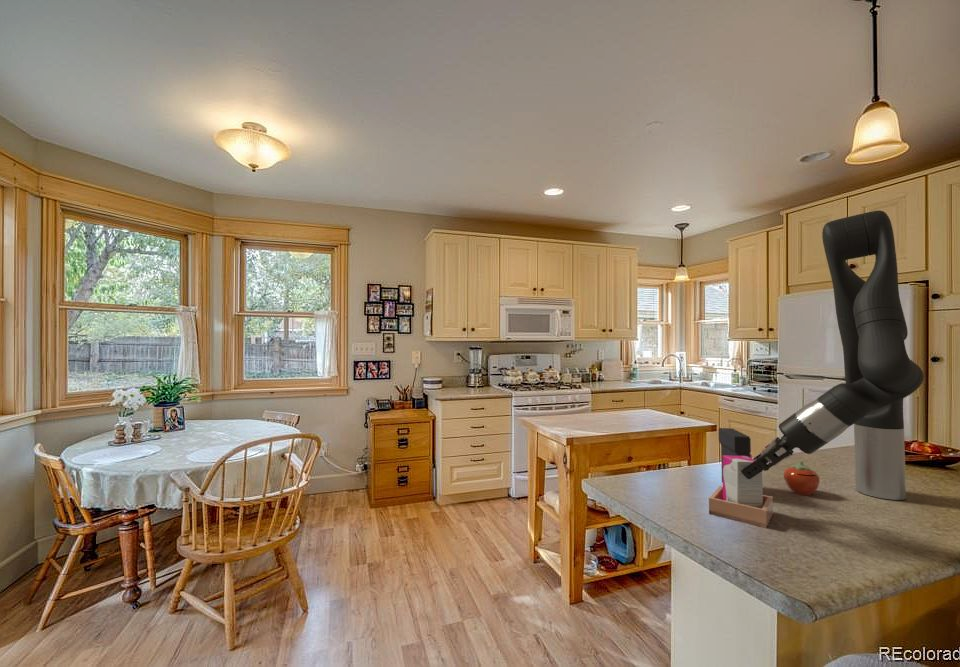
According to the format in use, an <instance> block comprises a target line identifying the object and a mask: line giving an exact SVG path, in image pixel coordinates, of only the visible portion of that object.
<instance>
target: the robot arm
mask: <svg viewBox="0 0 960 667" xmlns="http://www.w3.org/2000/svg"><path fill="white" fill-rule="evenodd" d="M821 234H822V236H821V237H822V244H823V248H824V253H825V257H826V261H827V265H828V269H829V274H830V277H831V283H832V288H833V296H834V305H835V313H836V320H837V325H838V326H837V327H838V330H839V335H840V341H841V345H842V350H843V362H844V363H843V367H844V378H845V381H844V382H845V383H844V382H842V383H839V384H836V385H834V386H833V387H831V388H829V390H827V391H825V392H824V393H823V394H822V395H820V396H819V397H817V398H816V399H814V400H813V401H811V402H809V403H807V404H805V405H804V406H802V407H801V408H799V409H798V410H797V411H796V412H794V413H793V414H791V415H790V416H788V417H787V418H786V419H784V420H783V421H782V422H780V423H779V424H778V428H779V431H780V432H781V433H782V436H781V437H779V436H777V437H775V438H774V439H773V440H771V441H770V442H769V443H768V444H767V445H766V446H765V447H764V449H762V450H761V452H760V453H758V455H756V456H755V457H754V458H753V457H752V458H753V459H755V461H754V462H752V463H751V464H749V465H748V466H747V467H745V468H744V469H742V471H741V473H742V474H743V475H744V476H745V477H746V478H747V479H751V478H753V477H754V476H756V475H757V474H759V473H760V472H761V471H762V472H764V471H765V472H766V471H769V470H770V469H771V468H772V467H775V466H777V465H779V464H780V463H781V462H782V461H784V460H786V459H789V458H790V457H791V456H792V455H794V454H793V453H794V449H796V448H797V449H799V450H800V451H801V452H803V453H805V454H807V455H812V454H813V453H815V452H816V451H818V450H820V449H821V448H823V447H824V446H826V445H827V444H828V443H830V442H832V441H833V440H834V439H836V438H838V437H839V436H840V435H842V434H843V433H844V432H845V431H846V430H847V429H849V428H850V427H851V426H853V436H854V439H853V440H854V441H853V442H854V473H855V474H854V475H855V476H854V478H855V479H854V480H855V491H856V492H859V493H861V494H864V495H866V496H871V497H875V498H879V499H884V500H885V499H886V500H892V501H902V500H903V501H904V500H906V499H907V490H906V489H907V488H906V487H907V486H906V482H907V481H906V452H905V451H906V449H905V445H906V444H905V423H904V422H905V421H904V399H905V398H907V397H909V396H911V395H912V394H913V393H914V392H916V391H917V390H918V389H919V388H920V387H921V386H922V384H923V381H924V377H925V375H924V374H925V373H924V372H923V369H922V368H921V367H920V366H919V365H918V364H917V363H916V362H914V361H913V360H912V359H910V358H909V355H908V352H907V349H906V344H905V343H906V342H905V340H906V339H907V337H908V326H907V323H906V318H905V313H904V311H903V307H902V303H901V298H900V292H899V277H898V274H899V273H898V261H897V252H896V244H895V243H896V242H895V234H894V229H893V224H892V221H891V218H890V217H889V216H888V214H887V213H886V212H885V211H883V210H873V211H867V212H864V213H863V212H862V213H859V214H856V215H855V214H854V215H850V216H846V217H842V218H838V219H834V220H830V221H828V222H826V223H825V224H824V226H823V228H822V233H821ZM873 255H875V259H874V260H875V262H874V265H873V268H872V270H871V272H870V274H869V276H868V277H867V279H866V281H865V280H864V279H863V278H861V277H860V276H859V275H857V273H856V272H854V270H853V269H852V268H851V266H850V265H849V264H848V262H847V260H854V259H859V258H865V257H870V256H873Z"/></svg>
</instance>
